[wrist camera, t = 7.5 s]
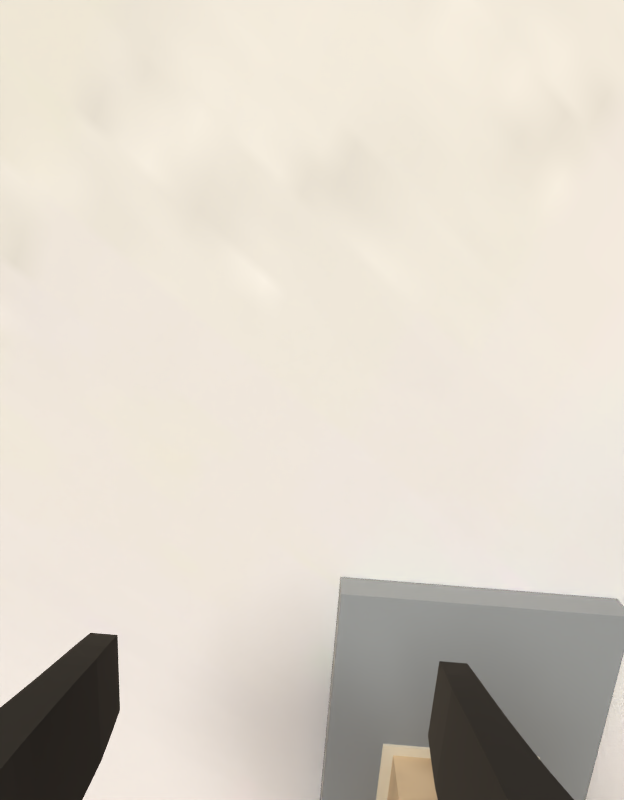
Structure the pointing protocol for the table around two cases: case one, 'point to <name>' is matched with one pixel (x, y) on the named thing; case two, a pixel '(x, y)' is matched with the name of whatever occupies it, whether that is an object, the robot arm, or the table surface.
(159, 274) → the table surface
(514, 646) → the build board
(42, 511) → the table surface
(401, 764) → the oak base
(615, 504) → the table surface
